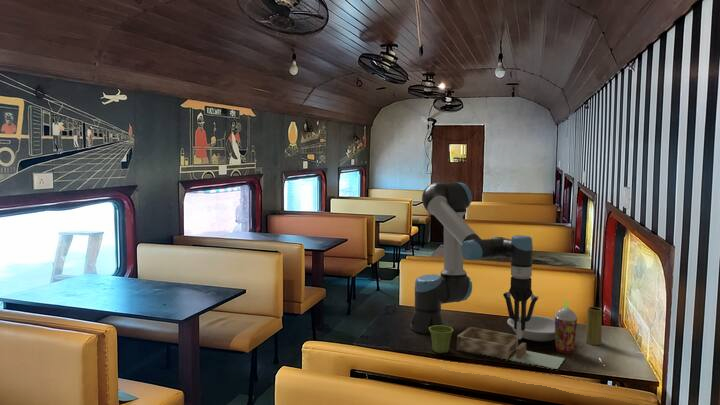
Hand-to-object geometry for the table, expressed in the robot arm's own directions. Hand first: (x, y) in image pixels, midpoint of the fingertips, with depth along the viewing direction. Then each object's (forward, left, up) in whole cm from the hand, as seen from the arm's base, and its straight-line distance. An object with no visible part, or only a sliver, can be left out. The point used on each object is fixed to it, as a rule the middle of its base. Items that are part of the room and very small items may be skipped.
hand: (519, 337), depth 198 cm
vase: (+22, +32, -7) cm, 39 cm away
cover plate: (+7, 0, -8) cm, 10 cm away
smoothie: (+14, +15, -7) cm, 22 cm away
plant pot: (-27, -11, -7) cm, 30 cm away
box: (-12, 0, -7) cm, 14 cm away
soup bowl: (+1, +24, -7) cm, 25 cm away
